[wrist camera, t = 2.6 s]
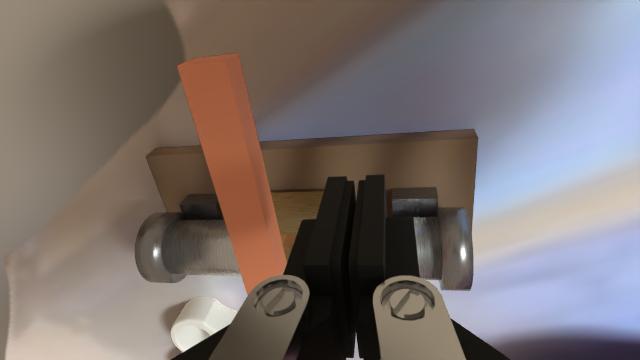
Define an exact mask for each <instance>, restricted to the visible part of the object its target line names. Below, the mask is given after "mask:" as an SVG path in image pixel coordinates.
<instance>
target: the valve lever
mask: <svg viewBox="0 0 640 360" xmlns="http://www.w3.org/2000/svg"><path fill="white" fill-rule="evenodd" d="M177 68H178V71H179V75H180V78H181V81H182V84H183V88H184V91H185V94H186V97H187V101H188V104H189V107H190V110H191V113H192V117H193V120H194V123H195V126H196V130H197V133H198V136H199V139H200V143H201V146H202V149H203V152H204V155H205V159H206V162H207V165H208V168H209V172H210V175H211V178H212V181H213V185H214V188H215V191H216V194H217V197H218V201H219V204H220V207H221V210H222V214H223V217H224V220H225V223H226V227H227V230H228V233H229V236H230V239H231V243H232V246H233V249H234V252H235V256H236V259H237V262H238V265H239V269H240V272H241V275H242V278H243V282H244V285H245V288H246V291H247V294H248V295H249V293H250V292H251V291H252V290H253V288H254V287H255V286H256V285H258V284H259V283H261V282H262V281H264V280H266V279H268V278H270V277H274V276H278V275H283V273H284V271H285V268H286V265H287V262H286V257H285V253H284V249H283V244H282V240H281V235H280V231H279V227H278V222H277V218H276V214H275V209H274V205H273V201H272V196H271V192H270V188H269V183H268V179H267V175H266V170H265V166H264V161H263V157H262V153H261V148H260V144H259V140H258V135H257V131H256V127H255V122H254V118H253V114H252V109H251V105H250V100H249V96H248V92H247V87H246V83H245V79H244V74H243V70H242V66H241V61H240V57H239V53H234V54H225V55H217V56H208V57H199V58H193V59H191V60H189V61H186V62H184V63H182V64H180V65H178V66H177Z"/></svg>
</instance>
